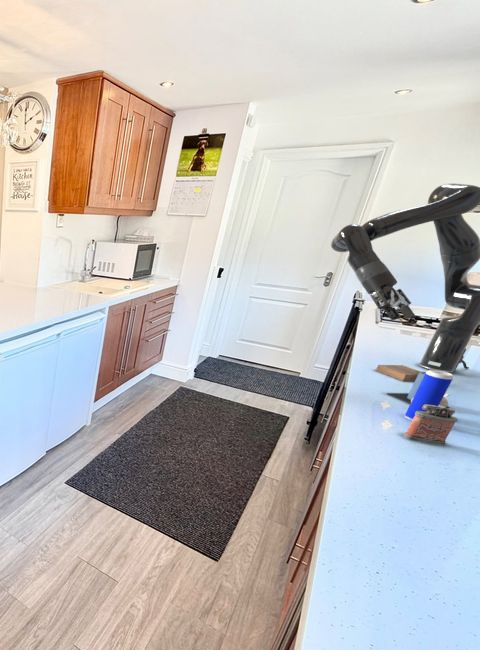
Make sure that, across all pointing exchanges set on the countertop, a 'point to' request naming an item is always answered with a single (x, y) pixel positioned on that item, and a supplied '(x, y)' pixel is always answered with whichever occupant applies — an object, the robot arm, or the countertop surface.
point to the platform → (398, 372)
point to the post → (416, 385)
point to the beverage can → (429, 391)
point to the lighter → (431, 424)
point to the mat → (402, 397)
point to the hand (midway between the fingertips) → (403, 318)
